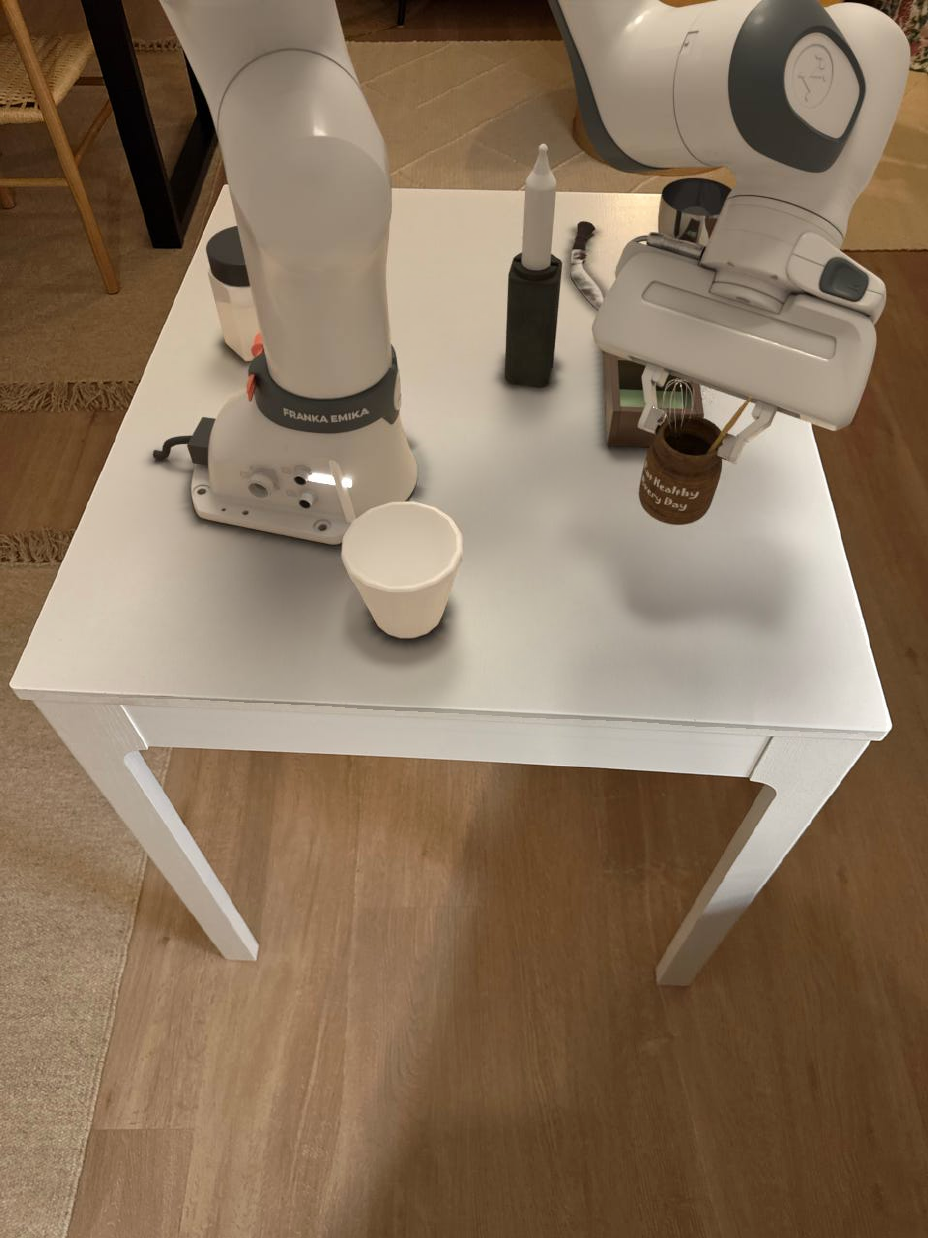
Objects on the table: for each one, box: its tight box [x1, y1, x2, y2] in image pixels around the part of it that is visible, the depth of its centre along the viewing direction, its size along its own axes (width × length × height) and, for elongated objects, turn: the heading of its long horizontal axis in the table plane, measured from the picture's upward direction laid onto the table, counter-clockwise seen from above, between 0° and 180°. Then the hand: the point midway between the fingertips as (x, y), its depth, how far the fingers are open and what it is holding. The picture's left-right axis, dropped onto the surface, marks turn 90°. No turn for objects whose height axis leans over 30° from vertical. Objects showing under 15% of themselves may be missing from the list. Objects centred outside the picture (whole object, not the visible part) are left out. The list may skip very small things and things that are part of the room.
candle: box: [503, 143, 563, 388], centre depth 91 cm, size 5×5×25 cm
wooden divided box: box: [602, 350, 705, 448], centre depth 97 cm, size 9×17×5 cm, turn 176°
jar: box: [205, 225, 260, 362], centre depth 100 cm, size 9×8×12 cm
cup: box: [341, 501, 464, 640], centre depth 77 cm, size 10×10×9 cm
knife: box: [570, 220, 605, 311], centre depth 113 cm, size 18×1×5 cm
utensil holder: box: [638, 378, 752, 526], centre depth 68 cm, size 6×6×12 cm
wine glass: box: [657, 177, 733, 246], centre depth 101 cm, size 8×8×15 cm
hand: (686, 445), depth 67 cm, fingers closed on utensil holder, 5 cm apart
